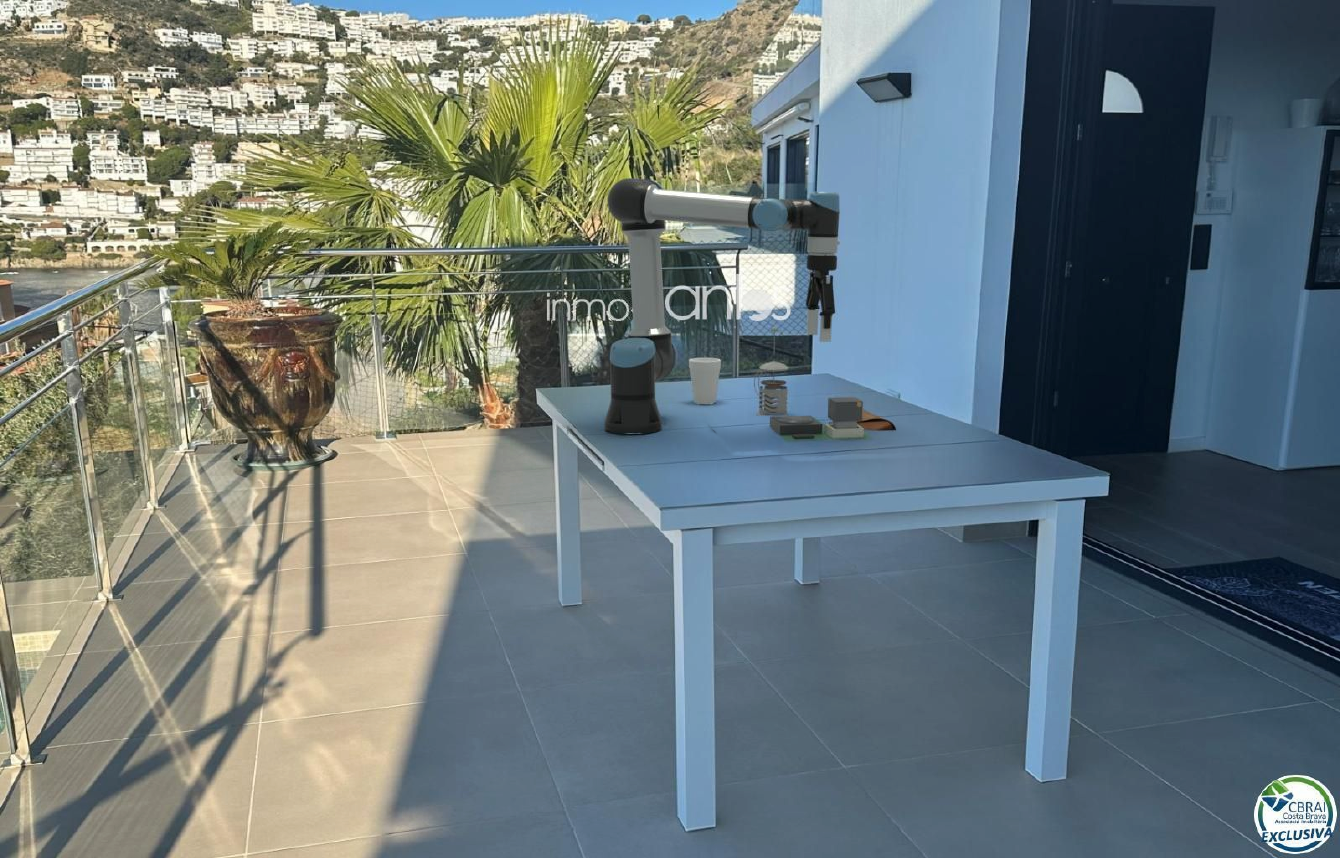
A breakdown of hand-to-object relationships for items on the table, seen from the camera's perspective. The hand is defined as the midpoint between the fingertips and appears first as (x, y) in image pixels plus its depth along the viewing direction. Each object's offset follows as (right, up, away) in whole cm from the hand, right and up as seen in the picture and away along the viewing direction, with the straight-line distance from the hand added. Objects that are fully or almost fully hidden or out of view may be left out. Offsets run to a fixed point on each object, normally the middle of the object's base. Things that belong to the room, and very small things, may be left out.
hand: (818, 338), depth 264 cm
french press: (-10, -20, +25) cm, 33 cm away
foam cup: (-28, -16, +44) cm, 55 cm away
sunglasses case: (+14, -24, +7) cm, 28 cm away
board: (0, -25, -2) cm, 25 cm away
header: (+6, -25, -6) cm, 26 cm away
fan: (-6, -24, 0) cm, 24 cm away
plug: (+6, -25, -6) cm, 26 cm away
